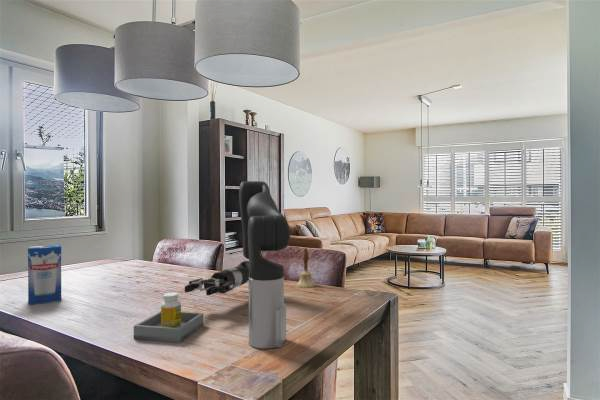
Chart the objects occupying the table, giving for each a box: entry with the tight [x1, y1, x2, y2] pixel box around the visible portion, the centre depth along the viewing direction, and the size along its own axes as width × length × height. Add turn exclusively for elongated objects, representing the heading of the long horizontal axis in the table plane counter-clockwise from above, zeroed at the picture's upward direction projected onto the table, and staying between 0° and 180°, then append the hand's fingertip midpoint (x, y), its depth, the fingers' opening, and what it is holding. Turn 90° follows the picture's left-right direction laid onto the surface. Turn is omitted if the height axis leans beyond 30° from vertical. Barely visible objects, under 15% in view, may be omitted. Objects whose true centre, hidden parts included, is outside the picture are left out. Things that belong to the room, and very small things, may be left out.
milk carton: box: [27, 244, 62, 306], centre depth 134 cm, size 10×6×20 cm, turn 123°
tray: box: [133, 310, 204, 343], centre depth 104 cm, size 14×14×4 cm
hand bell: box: [296, 248, 316, 288], centre depth 158 cm, size 8×8×16 cm
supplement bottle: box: [160, 291, 182, 328], centre depth 104 cm, size 5×5×10 cm
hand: (196, 290), depth 114 cm, fingers open, 8 cm apart
